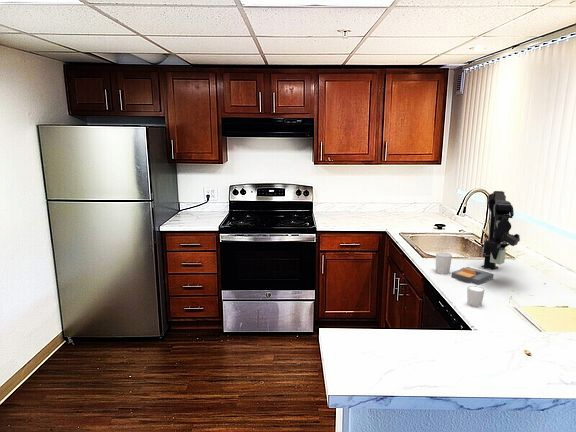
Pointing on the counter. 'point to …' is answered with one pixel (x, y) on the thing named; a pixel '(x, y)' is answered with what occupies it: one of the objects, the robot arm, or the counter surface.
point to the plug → (499, 257)
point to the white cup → (443, 262)
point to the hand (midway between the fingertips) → (497, 258)
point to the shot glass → (475, 295)
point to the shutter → (467, 273)
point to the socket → (478, 279)
